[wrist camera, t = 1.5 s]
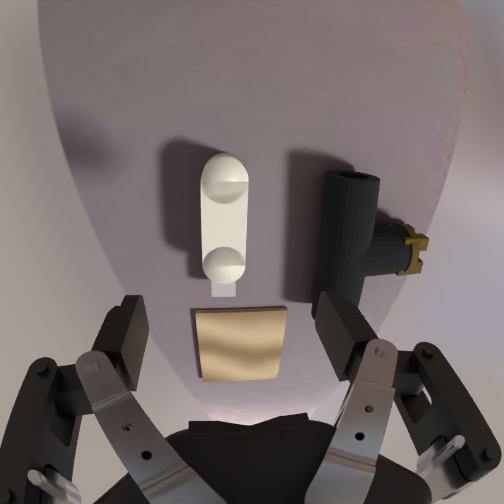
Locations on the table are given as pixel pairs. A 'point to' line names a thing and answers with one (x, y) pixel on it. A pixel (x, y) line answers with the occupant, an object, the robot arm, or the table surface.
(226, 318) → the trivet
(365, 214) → the pipe connector
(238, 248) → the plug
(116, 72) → the table surface
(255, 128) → the table surface
